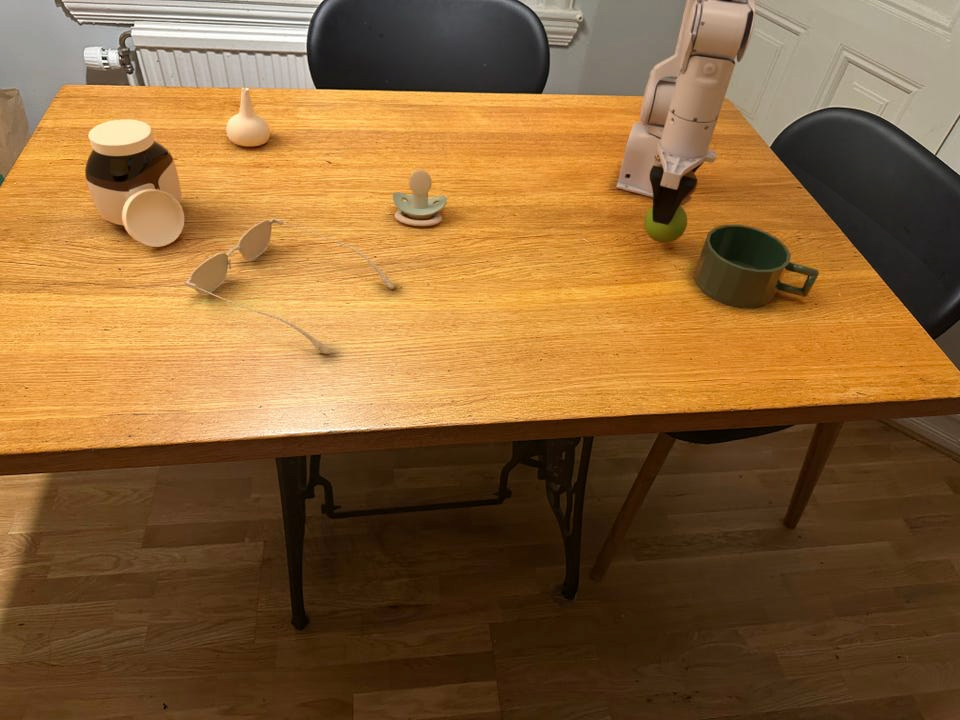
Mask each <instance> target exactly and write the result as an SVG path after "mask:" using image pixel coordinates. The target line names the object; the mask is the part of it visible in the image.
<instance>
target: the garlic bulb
mask: <svg viewBox="0 0 960 720" xmlns="http://www.w3.org/2000/svg"><path fill="white" fill-rule="evenodd" d="M240 91H241V93H240V104H239V111H238V113H237V114H234V115H233V116H231V117H230V118H229V119H228V121H227V122H226V126H225V131H226V136H227V138H228V139H229V140H230V141H231V142H232V143H233V144H235V145H238V146H241V147H252V148H253V147H257V146H258V147H260V146H262V145H264V144H266V143H267V142H268V141H269V140H270V136H271V135H270V134H271V132H270V126H269V125H268V123H267V121H266V120H265V119H264V118H263V117H261V116H260V115H258V114H256V112H255V110H254V107H253V102H252V98H251V94H250V88H248V87H241V88H240Z"/></svg>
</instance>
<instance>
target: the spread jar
mask: <svg viewBox="0 0 960 720" xmlns="http://www.w3.org/2000/svg"><path fill="white" fill-rule="evenodd" d="M88 139H89V143H90V145H91V148H92V150H91V152H90V154H89V155H88V158H87V161H86V164H85V168H84V171H85V174H84V175H85V181H86V184H87V188H88V192H89V194H90V196H91V200H92V202H93V205H94V207H95V210H96V212H97V213H98V215H99V216H100V217H101V218H102V219H103V220H104V221H106V222H107V223H108V224H110V225H112V226H113V227H116V228H118V229H121V230H124V231H125V232H127V234H128V235H129V236H130V237H131V238H132V239H133V240H134V241H136V242H138V243H140V244H143V245H145V246H148V247H152V248H160V247H165V246H168V245H170V244H172V243H173V242H175V241H176V240H177V239H178V238H179V237H180V235H181V234H182V232H183V230H184V225H185V213H184V210H183V207H182V205H181V202H182V187H181V183H180V179H179V175H178V170H177V167H176V163H175V160H174V158H173V156H172V153H171V152H170V151H169V150H168V149H167V148H166V147H165V146H164V145H162V144H161V143H160V142H158V141H156V140H155V138H154V135H153V131H152V128H151V126H150V125H149V124H148V123H145V122H144V121H141V120H136V119H114V120H109V121H105V122H102V123H100V124H98V125H96V126H94V127H92V128H91V129H90V130H89V132H88Z"/></svg>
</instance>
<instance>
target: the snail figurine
mask: <svg viewBox="0 0 960 720" xmlns="http://www.w3.org/2000/svg"><path fill="white" fill-rule="evenodd" d="M655 161H657V163H658V162H659V161H660V157H659V155H657V154H656V155H655ZM654 166H658V167H662V168H663V166H662V165H661V164H655V165H654ZM684 176H686V177H690V178H694V179H698V178H697V175H696V172H695V173H694V172H693V171H689V172H688V173H686V174H685V175H684ZM697 185H698V182H697V183H696V186H695V187H694V188H693V189H692V191H691V192H689V193H688V194H687V195H686V196H685V198H684V199H683V200H682V202H681V203H680V205H679V207H678V209H677V211H676V213H675V215H674V216H673V218H672V220H671V222H670V223H669V224H668V225H665V224H661V223H658V222H654V221H653V219H652V211H653V205H652V206H651V207H650V208H649V209H648V210H647V211H646V214H645V215H644V222H643V223H644V230H645V233H646V234H647V235H648V237H649V238H650V239H652V240H653V241H655V242H657V243H660V244H668V243H672V242H676V241H677V240H678V239H680V238H681V237H682V235H683V234H684V233H685V232H686V229H687V226H688V216H687V213H686V211H685V209H684V207H682V206H684V205H685V204H687V203H688V202H690V201H691V200H692V199H693V196H692V194H694V192H695V190H696V189H697V187H698V186H697ZM652 191H653V189H652Z"/></svg>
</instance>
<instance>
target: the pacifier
mask: <svg viewBox="0 0 960 720" xmlns="http://www.w3.org/2000/svg"><path fill="white" fill-rule="evenodd" d="M408 186H409V189H410V191H411V195H410V194H408V193H404V192H399V191H398V192H394V193H393V195H392V201H393V203H394V205H395V207H396V208H397V209H398V210H397V211H395V212H394V215H393V216H394V218H395V219H396V220H397V221H398V222H399V223H401V224H405V225H408V226H413V227H430V226H434V225H438V224H439V223H441V222H442V220H443V216H442V215H441V214H440V211H442V210H443V209H444V208H445V207H446V205H447V204H448V198H447V196H444V195H440V196H439V195H438V196H434V197H430V198H429V192H430V190H431V188H432V177H431V176H430V174H429V173H428V172H427V171H426V170H424V169H416V170H415V171H413V172H412V173H411V174H410V176H409V178H408ZM404 214H406V215H407V216H408V217H410V218H408V217H406V216H404ZM411 218H412V219H411Z"/></svg>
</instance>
